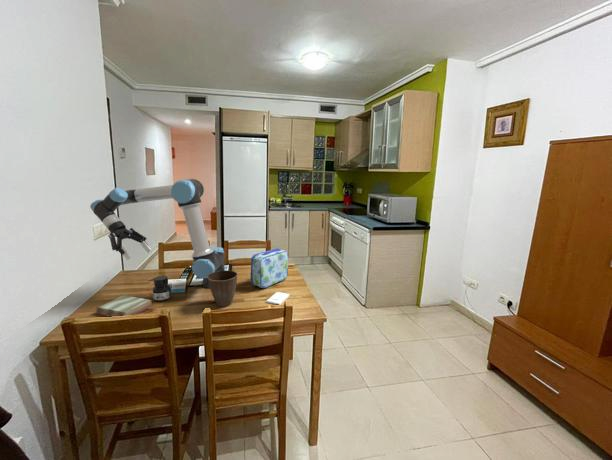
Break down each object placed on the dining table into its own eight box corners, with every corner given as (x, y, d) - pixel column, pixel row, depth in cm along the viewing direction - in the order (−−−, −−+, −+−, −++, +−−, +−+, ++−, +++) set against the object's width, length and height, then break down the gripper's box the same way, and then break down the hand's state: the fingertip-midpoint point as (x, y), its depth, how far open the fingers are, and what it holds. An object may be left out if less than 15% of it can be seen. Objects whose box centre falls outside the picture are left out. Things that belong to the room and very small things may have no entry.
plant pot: (207, 311, 142) (205, 281, 139) (210, 298, 156) (209, 271, 153) (238, 309, 145) (237, 279, 142) (238, 296, 159) (237, 269, 156)
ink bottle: (149, 302, 151) (147, 281, 148) (156, 295, 159) (154, 275, 157) (169, 302, 152) (167, 280, 149) (174, 294, 160) (173, 274, 158)
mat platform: (151, 305, 147) (151, 299, 147) (126, 320, 133) (125, 313, 133) (124, 300, 152) (123, 294, 152) (97, 314, 138) (96, 307, 138)
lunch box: (278, 274, 193) (278, 244, 189) (290, 278, 187) (290, 247, 182) (249, 286, 173) (247, 253, 168) (261, 291, 166) (260, 257, 162)
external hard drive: (289, 296, 161) (279, 306, 150) (276, 294, 164) (265, 303, 153) (289, 294, 161) (279, 303, 149) (276, 291, 164) (265, 300, 152)
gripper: (130, 225, 167) (153, 252, 166) (88, 233, 143) (115, 265, 143) (137, 216, 164) (160, 244, 164) (95, 224, 141) (123, 256, 140)
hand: (139, 254), depth 153 cm, fingers open, 13 cm apart
